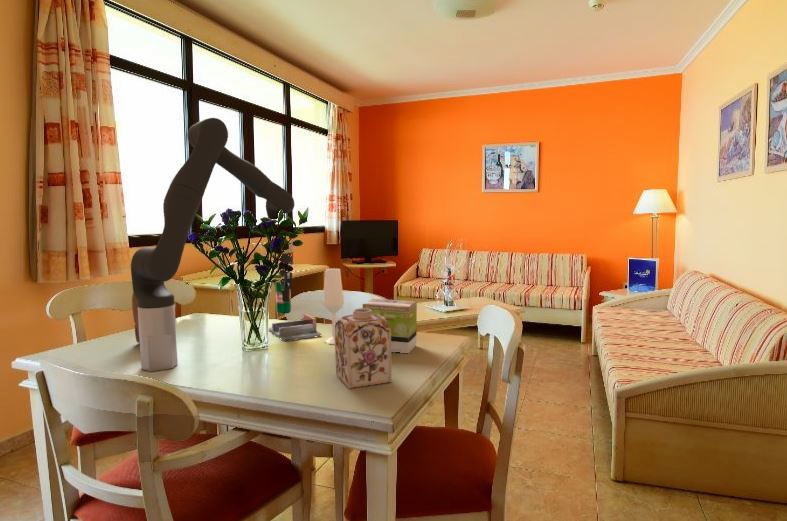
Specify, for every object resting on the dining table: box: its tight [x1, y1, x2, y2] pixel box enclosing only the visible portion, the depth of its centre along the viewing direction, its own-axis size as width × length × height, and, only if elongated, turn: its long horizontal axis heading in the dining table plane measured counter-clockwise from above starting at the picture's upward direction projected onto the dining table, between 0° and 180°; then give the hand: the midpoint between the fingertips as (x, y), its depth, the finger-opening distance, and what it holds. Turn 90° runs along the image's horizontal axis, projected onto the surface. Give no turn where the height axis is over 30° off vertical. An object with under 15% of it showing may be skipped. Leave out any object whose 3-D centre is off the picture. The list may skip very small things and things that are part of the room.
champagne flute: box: [322, 268, 345, 343], centre depth 162 cm, size 7×7×24 cm
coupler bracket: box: [268, 313, 322, 342], centre depth 175 cm, size 18×13×5 cm
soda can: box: [274, 281, 292, 315], centre depth 172 cm, size 5×5×12 cm
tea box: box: [362, 298, 418, 354], centre depth 155 cm, size 15×10×15 cm
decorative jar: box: [334, 307, 393, 389], centre depth 127 cm, size 12×12×18 cm
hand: (283, 300), depth 172 cm, fingers closed on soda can, 5 cm apart
